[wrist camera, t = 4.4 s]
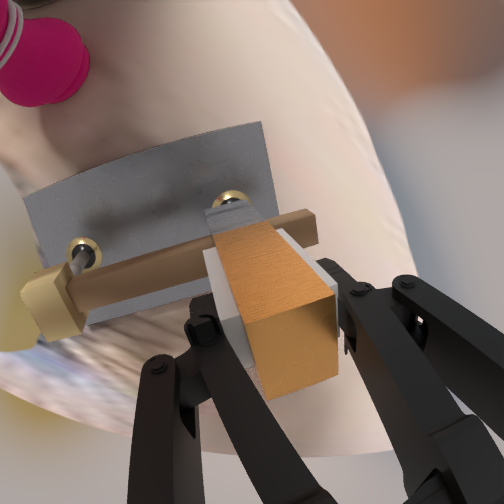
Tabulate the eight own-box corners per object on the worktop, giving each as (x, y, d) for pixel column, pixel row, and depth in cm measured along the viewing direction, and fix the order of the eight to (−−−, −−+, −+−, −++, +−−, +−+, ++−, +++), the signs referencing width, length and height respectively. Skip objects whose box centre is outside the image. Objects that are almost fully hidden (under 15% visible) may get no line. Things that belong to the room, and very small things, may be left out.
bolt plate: (29, 194, 22) (22, 198, 21) (256, 121, 25) (261, 121, 24) (83, 318, 28) (80, 327, 27) (283, 261, 31) (288, 268, 30)
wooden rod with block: (57, 242, 23) (14, 294, 15) (272, 177, 26) (319, 203, 17) (74, 280, 25) (42, 343, 16) (280, 220, 28) (326, 263, 19)
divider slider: (199, 198, 24) (244, 324, 9) (235, 188, 25) (335, 294, 9) (211, 242, 26) (266, 400, 11) (245, 232, 27) (338, 374, 11)
